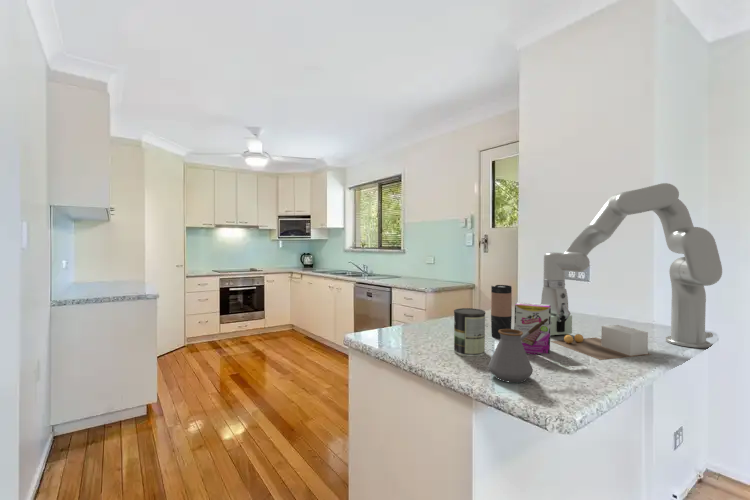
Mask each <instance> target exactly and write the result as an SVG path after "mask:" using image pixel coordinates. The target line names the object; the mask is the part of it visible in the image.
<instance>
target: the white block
mask: <svg viewBox="0 0 750 500" xmlns="http://www.w3.org/2000/svg"><path fill="white" fill-rule="evenodd" d="M600 337H601V338H600V339H601V346H602V347H605V348H608V349H612V350H615V351H618V352H621V353H624V354H627V355H630V356H632V355H642V354H648V352H649V351H648V350H649V349H648V347H649V338H648V337H649V332H648V331H643V330H640V329H635V328H631V327H628V326H623V325H619V324H613V325H602V326H601V336H600Z"/></svg>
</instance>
